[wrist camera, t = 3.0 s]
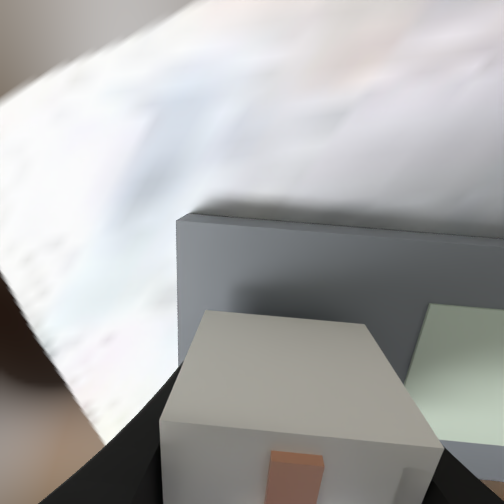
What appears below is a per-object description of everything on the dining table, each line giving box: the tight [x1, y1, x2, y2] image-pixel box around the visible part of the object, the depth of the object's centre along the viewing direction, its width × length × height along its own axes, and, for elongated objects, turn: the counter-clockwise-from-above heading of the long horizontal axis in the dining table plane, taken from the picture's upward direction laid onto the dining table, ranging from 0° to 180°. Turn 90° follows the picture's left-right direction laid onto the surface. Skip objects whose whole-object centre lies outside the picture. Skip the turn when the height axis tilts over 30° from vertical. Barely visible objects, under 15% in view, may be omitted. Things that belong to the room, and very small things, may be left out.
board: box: [176, 214, 504, 482], centre depth 11 cm, size 11×16×2 cm
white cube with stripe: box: [159, 310, 444, 504], centre depth 8 cm, size 5×5×4 cm
